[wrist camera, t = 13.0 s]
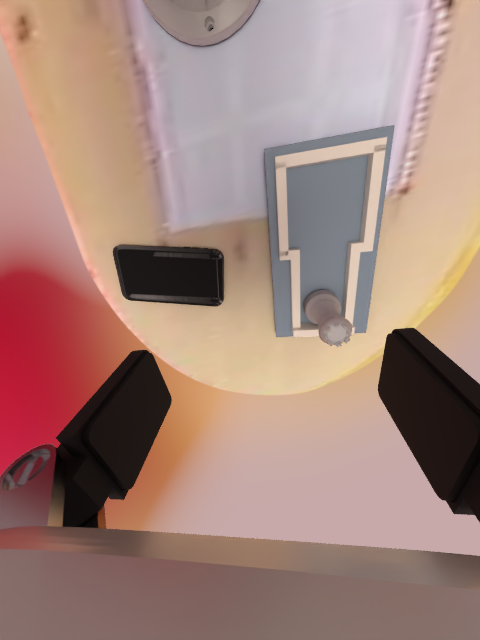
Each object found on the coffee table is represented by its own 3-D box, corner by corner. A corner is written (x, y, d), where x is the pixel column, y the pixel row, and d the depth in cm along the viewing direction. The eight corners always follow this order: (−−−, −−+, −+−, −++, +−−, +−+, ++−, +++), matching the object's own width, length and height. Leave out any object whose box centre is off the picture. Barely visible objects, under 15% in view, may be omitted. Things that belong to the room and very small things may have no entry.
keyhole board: (264, 152, 23) (264, 143, 20) (386, 130, 22) (406, 116, 18) (275, 332, 33) (276, 344, 30) (361, 327, 31) (372, 340, 28)
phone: (223, 306, 31) (123, 300, 32) (224, 303, 32) (127, 297, 33) (222, 249, 28) (110, 244, 29) (224, 248, 29) (115, 243, 30)
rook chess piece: (322, 281, 27) (341, 305, 20) (345, 304, 28) (372, 334, 21) (295, 305, 29) (304, 336, 22) (318, 326, 30) (334, 362, 23)
